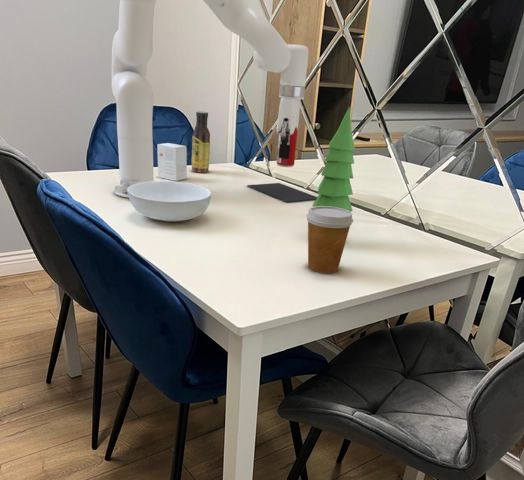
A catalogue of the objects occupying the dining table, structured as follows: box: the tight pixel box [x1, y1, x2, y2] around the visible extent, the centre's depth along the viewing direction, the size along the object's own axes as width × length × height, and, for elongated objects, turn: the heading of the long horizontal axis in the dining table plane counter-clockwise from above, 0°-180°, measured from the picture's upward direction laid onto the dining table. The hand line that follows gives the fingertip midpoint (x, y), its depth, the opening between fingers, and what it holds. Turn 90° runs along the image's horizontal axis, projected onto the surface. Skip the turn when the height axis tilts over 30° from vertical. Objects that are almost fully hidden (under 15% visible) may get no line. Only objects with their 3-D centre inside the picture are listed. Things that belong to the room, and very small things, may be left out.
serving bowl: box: [128, 180, 212, 223], centre depth 136 cm, size 21×21×7 cm
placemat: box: [247, 182, 318, 204], centre depth 172 cm, size 22×13×1 cm, turn 34°
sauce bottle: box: [191, 110, 211, 174], centre depth 187 cm, size 6×6×20 cm
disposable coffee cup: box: [305, 206, 354, 274], centre depth 110 cm, size 10×10×12 cm
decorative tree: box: [312, 106, 356, 213], centre depth 123 cm, size 10×9×30 cm
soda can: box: [276, 126, 298, 168], centre depth 165 cm, size 6×6×12 cm
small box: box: [156, 142, 188, 182], centre depth 176 cm, size 8×6×10 cm
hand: (286, 156), depth 166 cm, fingers closed on soda can, 5 cm apart
